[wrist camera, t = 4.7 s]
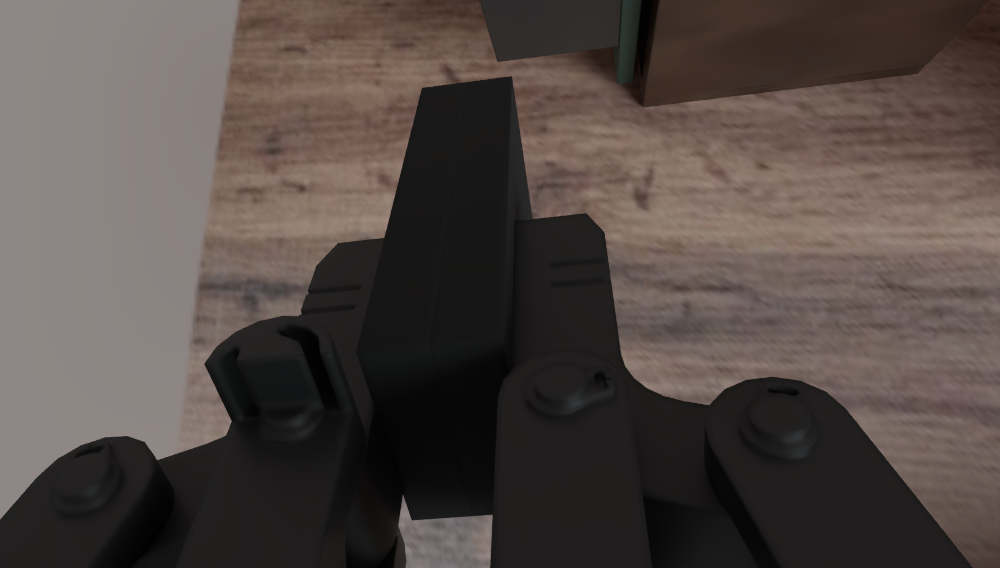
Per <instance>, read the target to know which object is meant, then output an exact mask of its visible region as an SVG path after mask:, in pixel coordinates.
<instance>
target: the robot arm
mask: <svg viewBox="0 0 1000 568" xmlns="http://www.w3.org/2000/svg"><path fill="white" fill-rule="evenodd" d="M308 292H309V295H306V297H305V300H304V303H303V306H302V309H301V312H302V315H299V316H281V317H276V318H272V319H267V320H263V321H259V322H256V323H254V324H252V325H250V326H248V327H246V328H243V329H241V330H239V331H237V332H235V333H234V334H233V335H231V336H230V337H229V338H227V339H226V340H225V341H223V342H222V343H221V344H220V345H218V346H217V347H216V348H215V350H214V351H213V352H212V354H211V355H210V357H209V358H208V359H207V361H206V362H205V366H206V368H207V371H208V373H209V375H210V377H211V379H212V381H213V383H214V385H215V387H216V389H217V391H218V393H219V395H220V397H221V400H222V402H223V404H224V406H225V408H226V410H227V412H228V414H229V416H230V418H231V420H232V422H231V425H230V428H229V430H228V433H227V435H226V436H224V437H222V438H220V439H217V440H215V441H212V442H210V443H208V444H205V445H202V446H199V447H196V448H193V449H190V450H187V451H184V452H181V453H178V454H175V455H172V456H169V457H166V458H163V459H160V460H156V458H155V456H154V455H153V453H152V452H151V451H150V449H149V448H148V446H147V445H146V444H145V442H143V441H140V440H137V439H134V438H131V437H128V436H123V437H106V438H102V439H100V440H96V441H93V442H90V443H87V444H84V445H81V446H79V447H77V448H76V449H74V450H72V451H71V452H69V453H67V454H66V455H64V456H62V457H60V458H58V459H57V460H56V461H55V462H54V463H53V464H51V465H50V466H49V467H48V468H47V469H46V470H45V471H44V472H42V473H41V474H40V475H39V476H38V477H37V478H36V479H35V480H34V482H33V483H32V484H31V485H30V486H29V487H28V488H27V489H26V491H25V492H24V493H23V494H22V495H21V496H20V498H19V499H18V500H17V501H16V502H15V503H14V504H13V506H12V507H11V508H10V509H9V510H8V511H7V512H6V514H5V515H4V516H3V517H2V518H1V519H0V568H405V567H406V554H405V544H404V541H403V538H402V536H401V533H400V530H399V527H398V523H399V517H400V510H401V503H402V497H403V495H404V498H405V501H406V504H407V507H408V510H409V513H410V516H411V519H412V520H423V519H437V518H451V517H465V516H479V515H493V520H492V543H491V566H490V568H973V567H972V566H971V565H970V563H969V562H968V561H967V560H966V558H965V557H964V556H963V555H962V553H961V552H960V551H959V550H958V548H957V547H956V546H955V545H954V543H953V542H952V541H951V540H950V538H949V537H948V536H947V535H946V533H945V532H944V531H943V530H942V528H941V527H940V526H939V525H938V523H937V522H936V521H935V520H934V518H933V517H932V516H931V515H930V513H929V512H928V511H927V510H926V508H925V507H924V506H923V505H922V503H921V502H920V501H919V500H918V498H917V497H916V496H915V495H914V493H913V492H912V491H911V490H910V488H909V487H908V486H907V485H906V483H905V482H904V481H903V480H902V478H901V477H900V476H899V475H898V473H897V472H896V471H895V470H894V468H893V467H892V466H891V465H890V464H889V462H888V461H887V460H886V459H885V457H884V456H883V455H882V454H881V452H880V451H879V450H878V449H877V447H876V446H875V445H874V444H873V442H872V441H871V440H870V439H869V437H868V436H867V435H866V434H865V432H864V431H863V430H862V429H861V427H860V426H859V425H858V424H857V422H856V421H855V420H854V419H853V417H852V416H851V415H850V414H849V412H848V411H847V410H846V409H845V408H844V407H843V406H842V405H841V404H840V403H838V402H837V401H836V400H835V399H834V398H833V397H832V396H830V395H829V394H828V393H827V392H825V391H823V390H821V389H818V388H816V387H814V386H811V385H809V384H807V383H804V382H802V381H798V380H791V379H784V378H778V377H767V378H759V379H750V380H745V381H743V382H741V383H738V384H736V385H734V386H731V387H729V388H727V389H725V390H724V391H723V392H722V393H721V394H720V395H719V396H718V397H717V398H716V399H715V400H714V401H713V402H712V403H711V404H710V405H704V404H698V403H692V402H685V401H681V400H677V399H673V398H669V397H665V396H662V395H660V394H658V393H656V392H654V391H651V390H649V389H647V388H646V387H644V386H643V385H642V384H641V383H639V382H638V381H637V380H635V379H634V378H633V376H632V375H631V374H630V372H629V371H628V370H627V368H626V367H625V365H624V362H623V359H622V356H621V350H620V343H619V336H618V328H617V321H616V314H615V307H614V299H613V292H612V285H611V278H610V270H609V263H608V255H607V248H606V241H605V233H604V232H603V231H602V229H601V228H600V227H599V226H598V225H597V224H596V223H595V222H594V221H593V220H592V219H591V218H590V217H589V216H588V215H587V214H586V213H585V214H576V215H567V216H558V217H549V218H540V219H532V212H531V205H530V198H529V191H528V184H527V178H526V171H525V164H524V157H523V150H522V143H521V136H520V129H519V122H518V115H517V108H516V101H515V95H514V88H513V81H512V76H511V77H503V78H496V79H488V80H480V81H472V82H465V83H457V84H449V85H441V86H434V87H426V88H422V90H421V94H420V98H419V102H418V106H417V110H416V114H415V118H414V122H413V126H412V130H411V134H410V138H409V142H408V146H407V150H406V154H405V158H404V162H403V166H402V170H401V174H400V178H399V182H398V186H397V190H396V194H395V198H394V202H393V206H392V210H391V214H390V218H389V222H388V226H387V230H386V234H385V238H381V239H371V240H362V241H353V242H344V243H338V244H337V245H336V246H335V247H334V248H333V249H332V250H331V251H330V252H329V253H328V254H327V255H326V257H325V258H324V259H323V260H322V261H321V262H320V263H319V264H318V265H317V266H316V269H315V272H314V275H313V278H312V280H311V283H310V286H309V289H308Z"/></svg>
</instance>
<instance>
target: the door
mask: <svg viewBox="0 0 1000 568" xmlns="http://www.w3.org/2000/svg"><path fill="white" fill-rule="evenodd" d="M479 1H480V5H481V8H482V11H483V15H484V18H485V21H486V25H487V28H488V31H489V35H490V38H491V41H492V45H493V48H494V52H495V55H496V58H497V61H498V62H501V61H509V60H517V59H524V58H532V57H539V56H547V55H555V54H562V53H570V52H578V51H585V50H593V49H600V48H608V47H613V54H614V63H615V72H616V81H617V84H624V83H632V82H633V76H634V67H635V58H636V49H637V40H638V31H639V22H640V13H641V4H642V0H479Z"/></svg>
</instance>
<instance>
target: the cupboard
mask: <svg viewBox="0 0 1000 568" xmlns="http://www.w3.org/2000/svg"><path fill="white" fill-rule="evenodd" d="M989 1H990V0H642V4H641V13H640V22H639V31H638V40H637V49H636V53H637V62H638V71H639V79H640V88H641V96H642V105H643V107H649V106H657V105H665V104H674V103H682V102H690V101H698V100H706V99H714V98H722V97H730V96H739V95H747V94H755V93H763V92H771V91H779V90H787V89H795V88H804V87H812V86H820V85H828V84H836V83H844V82H852V81H860V80H869V79H877V78H885V77H893V76H901V75H909V74H917V73H919V71H920V70H921V69H922V68H923V67H924V66H925V65H927V64H928V63H929V62H930V61H931V60H932V59H933V58H934V56H935V55H936V54H937V53H938V52H939V51H940V50H941V49H942V48H943V47H944V46H945V45H946V44H947V43H948V42H949V41H950V40H951V39H952V38H953V37H954V36H955V35H956V34H957V33H958V32H959V31H960V30H961V29H962V28H963V27H964V26H965V25H966V24H967V23H968V22H969V21H970V20H971V19H972V18H973V17H974V16H975V15H976V14H977V13H978V12H979V11H980V10H981V9H982V8H983V7H984V6H985V5H986V4H987V3H988V2H989Z"/></svg>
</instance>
